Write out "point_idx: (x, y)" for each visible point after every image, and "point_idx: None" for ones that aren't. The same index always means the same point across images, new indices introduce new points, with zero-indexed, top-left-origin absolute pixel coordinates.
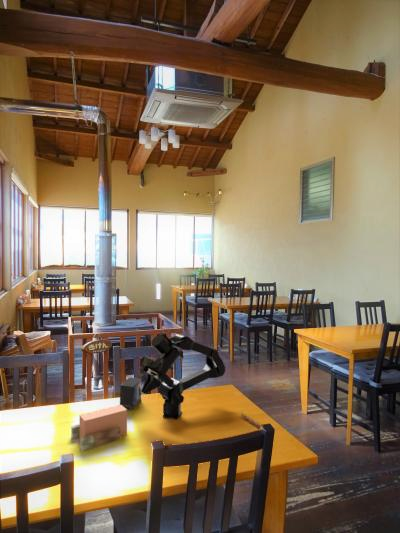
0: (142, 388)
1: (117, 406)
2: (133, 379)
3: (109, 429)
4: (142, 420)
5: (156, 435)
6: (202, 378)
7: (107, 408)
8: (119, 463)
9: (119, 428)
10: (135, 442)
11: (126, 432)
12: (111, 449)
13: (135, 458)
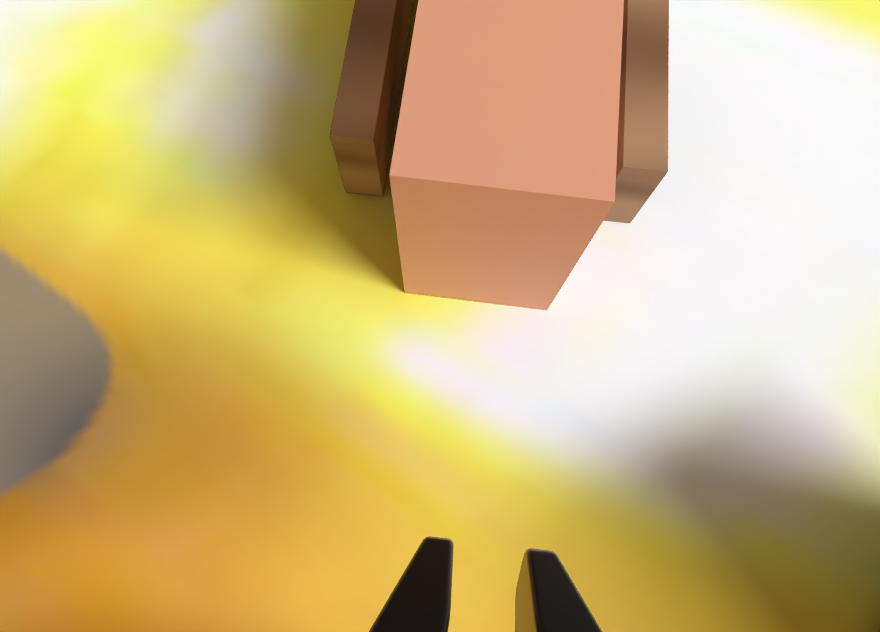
0: (574, 607)
1: (583, 133)
2: None
3: (387, 54)
4: None
5: (146, 487)
6: None
7: (607, 11)
8: (57, 26)
9: (333, 127)
10: (201, 259)
11: (405, 287)
12: (260, 71)
13: (9, 133)
